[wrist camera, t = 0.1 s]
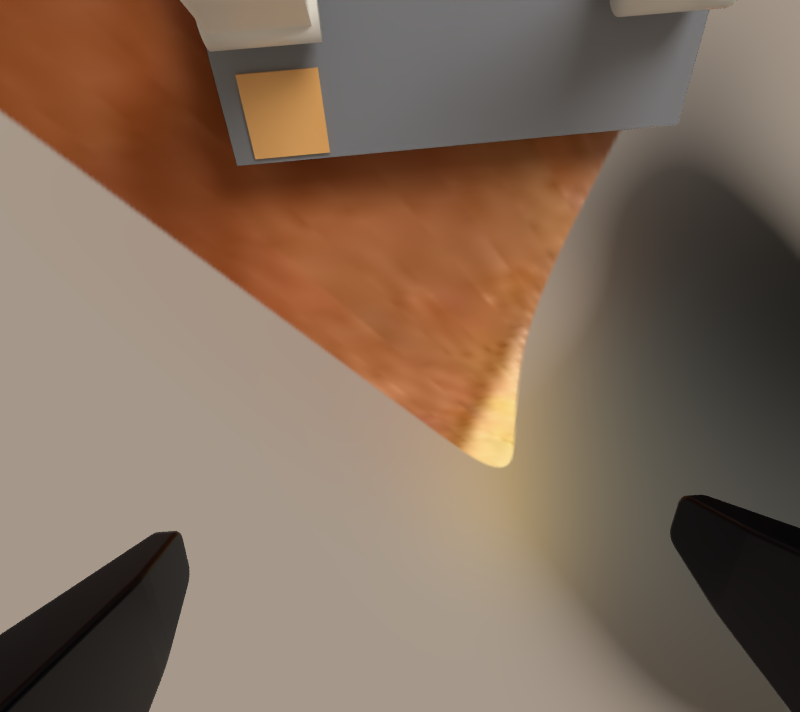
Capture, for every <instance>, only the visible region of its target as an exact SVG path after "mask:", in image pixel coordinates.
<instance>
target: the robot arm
mask: <svg viewBox="0 0 800 712" xmlns="http://www.w3.org/2000/svg"><path fill="white" fill-rule="evenodd" d="M670 535H671V540H672V543H673V545H674V547H675V548H676V550H677V552H678V553H679V555H680V556H681V558H682V560H683V561H684V563H685V564H686V566H687V568H688V569H689V570H690V572H691V574H692V576H693V577H694V579H695V580H696V582H697V584H698V585H699V587H700V588H701V590H702V592H703V593H704V595H705V596H706V598H707V600H708V601H709V603H710V604H711V606H712V607H713V609H714V610H715V612H716V613H717V615H718V616H719V617H720V619H721V620H722V622H723V623H724V624H725V626H726V627H727V628H728V630H729V631H730V632H731V634H732V635H733V636H734V638H735V639H736V640H737V641H738V643H739V644H740V645H741V647H742V648H743V649H744V651H745V652H746V653H747V655H748V656H749V657H750V658H751V660H752V661H753V663H754V664H755V665H756V667H757V668H758V669H759V670H760V672H761V673H762V674H763V676H764V677H765V678H766V680H767V681H768V682H769V684H770V685H771V686H772V688H773V689H774V690H775V691H776V693H777V694H778V695H779V697H780V698H781V699H782V701H783V702H784V703H785V705H786V706H787V707H788V709H789V710H790V711H791V712H800V528H798V527H796V526H793V525H790V524H787V523H784V522H781V521H778V520H775V519H772V518H770V517H766V516H764V515H761V514H758V513H755V512H752V511H749V510H747V509H744V508H741V507H738V506H735V505H732V504H729V503H726V502H723V501H721V500H718V499H715V498H712V497H709V496H706V495H688V496H683V497H682V498H681V499H680V500H679V502H678V505H677V508H676V512H675V515H674V518H673V522H672V525H671V529H670ZM188 582H189V565H188V560H187V555H186V551H185V547H184V542H183V539H182V536H181V534H180V533H179V532H177V531H170V532H158V533H154V534H153V535H151V536H149V537H147V538H146V539H145V540H143V541H142V542H140V543H139V544H137V545H135V546H134V547H132V548H131V549H129V550H128V551H126V552H125V553H124V554H122V555H120V556H119V557H117V558H116V559H115V560H113V561H111V562H110V563H108V564H107V565H105V566H104V567H102V568H101V569H99V570H98V571H96V572H95V573H93V574H91V575H90V576H88V577H87V578H85V579H84V580H82V581H81V582H79V583H78V584H76V585H75V586H73V587H72V588H70V589H69V590H68V591H66V592H64V593H63V594H61V595H60V596H58V597H57V598H55V599H54V600H52V601H51V602H49V603H48V604H46V605H44V606H43V607H42V608H40V609H38V610H37V611H35V612H34V613H33V614H31V615H29V616H28V617H26V618H25V619H23V620H22V621H20V622H19V623H17V624H16V625H14V626H13V627H11V628H10V629H8V630H7V631H5V632H4V633H2V634H1V635H0V712H149V709H150V707H151V704H152V702H153V699H154V696H155V694H156V691H157V689H158V686H159V684H160V681H161V678H162V676H163V673H164V670H165V667H166V664H167V661H168V657H169V654H170V650H171V647H172V643H173V639H174V635H175V631H176V627H177V624H178V620H179V616H180V613H181V608H182V605H183V601H184V597H185V594H186V590H187V586H188Z"/></svg>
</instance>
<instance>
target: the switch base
mask: <svg viewBox="0 0 800 712" xmlns="http://www.w3.org/2000/svg"><path fill="white" fill-rule="evenodd" d="M318 4H319V11H320V20H321V29H322V40H323V42H319V43H307V44H296V45H284V46H272V47H260V48H248V49H236V50H225V51H213V52H210V51H209V50H208V49H207V48H206V49H207V53H208V57H209V61H210V64H211V68H212V72H213V76H214V80H215V83H216V87H217V91H218V95H219V99H220V102H221V106H222V110H223V114H224V118H225V121H226V125H227V129H228V133H229V136H230V140H231V144H232V148H233V152H234V155H235V159H236V163H237V166H243V165H253V164H264V163H275V162H285V161H296V160H307V159H317V158H328V157H339V156H349V155H360V154H371V153H381V152H392V151H403V150H413V149H424V148H435V147H445V146H456V145H466V144H477V143H488V142H498V141H509V140H520V139H530V138H541V137H552V136H562V135H573V134H584V133H594V132H605V131H616V130H626V129H637V128H647V127H657V126H667V125H668V126H669V125H678V123H679V119H680V115H681V111H682V108H683V104H684V101H685V97H686V93H687V90H688V86H689V83H690V79H691V75H692V72H693V67H694V64H695V61H696V57H697V53H698V50H699V46H700V42H701V39H702V35H703V31H704V28H705V24H706V21H707V16H708V13H709V10H698V11H686V12H674V13H662V14H650V15H639V16H627V17H616V16H615V15H614V14H613V12H612V10H611V6H610V0H318Z"/></svg>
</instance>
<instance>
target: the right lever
mask: <svg viewBox="0 0 800 712" xmlns="http://www.w3.org/2000/svg"><path fill="white" fill-rule="evenodd" d="M736 1H737V0H610V6H611V10H612V12H613V14H614V15H615V16H616V17H627V16H639V15H650V14H662V13H674V12H686V11H698V10H710V9H721V8H727V7H729V6H731V5H732V4H733V3H734V2H736Z"/></svg>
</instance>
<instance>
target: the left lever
mask: <svg viewBox="0 0 800 712" xmlns="http://www.w3.org/2000/svg"><path fill="white" fill-rule="evenodd" d="M180 1H181V2H182V4H183V5H184V6H185V7H186V8H187V10H188V11H189V12H190V13H191V14H192V16H193V17H194V18H195V20H196V23H197V27H198V30H199V33H200V35H201V38H202V40H203V42H204V44H205V46H206V48H207V49H208V50H209V51H210V52H213V51H225V50H236V49H248V48H260V47H272V46H284V45H296V44H307V43H319V42H323V40H322V29H321V20H320V11H319V4H318V0H180Z"/></svg>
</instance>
